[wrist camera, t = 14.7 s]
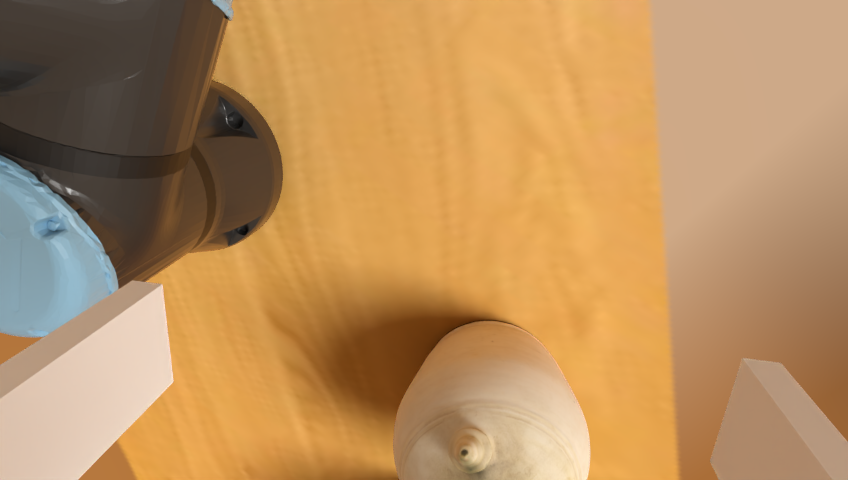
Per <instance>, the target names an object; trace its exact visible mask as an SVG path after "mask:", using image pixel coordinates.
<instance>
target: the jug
mask: <svg viewBox="0 0 848 480" xmlns="http://www.w3.org/2000/svg"><path fill="white" fill-rule="evenodd" d="M393 450H394V459H395V465H396V470H397V474H398V477H399V480H587V477H588V472H589V465H590V440H589V433H588V428H587V424H586V421H585V417H584V415H583V412H582V410H581V407H580V405H579V403H578V401H577V399H576V397H575V395H574V393H573V391H572V389H571V387H570V385H569V384H568V382H567V380H566V378H565V376H564V375H563V373H562V371H561V369H560V367H559V366H558V364H557V362H556V361H555V359H554V358H553V356H552V355H551V354H550V353H549V351H548V350H547V349H546V348H545V346H544V345H543V344H542V343H541V342H540V341H539V340H538V339H537V338H535V337H534V336H533V335H531V334H530V333H528V332H526V331H525V330H523V329H521V328H519V327H517V326H514V325H511V324H508V323H504V322H499V321H478V322H472V323H469V324H466V325H463V326H460V327H458V328H456V329H454V330H453V331H451V332H449V333H448V334H447V335H445V336H444V337H443V338H442V339H441V340H440V341H439V342H438V343H437V345H436V346H435V348H434V349H433V350H432V351H431V352H430V354H429V355H428V356H427V358H426V359H425V361H424V363H423V364H422V366H421V368H420V369H419V371H418V372H417V374H416V376H415V377H414V379H413V381H412V382H411V384H410V386H409V387H408V389H407V391H406V393H405V394H404V396H403V399H402V401H401V403H400V406H399V408H398V411H397V416H396V421H395V427H394V439H393Z"/></svg>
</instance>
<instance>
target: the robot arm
mask: <svg viewBox="0 0 848 480" xmlns="http://www.w3.org/2000/svg"><path fill="white" fill-rule="evenodd" d="M232 1H233V0H0V332H1V333H5V334H9V335H14V336H20V337H43V338H42V339H40V340H39V341H37V342H36V343H34V344H32V345H31V346H29V347H28V348H26V349H25V350H23V351H21V352H20V353H18V354H17V355H15V356H14V357H12V358H10V359H9V360H7V361H6V362H5V363H3V364H1V365H0V480H78V479H79V478H80V477H81V476H82V475H83V474H84V473H85V472H86V471H87V470H88V469H89V468H90V467H91V465H92V464H94V463H95V462H96V461H97V460H98V458H99V457H100V456H101V455H102V454H103V453H104V452H105V451H106V450H107V449H108V448H109V447H110V446H111V445H112V444H113V443H114V442H115V441H116V440H117V439H118V438H119V437H120V436H121V435H122V434H123V433H124V432H125V431H126V430H127V429H128V428H129V427H130V426H131V425H132V424H133V423H134V422H135V421H136V420H137V419H138V418H139V417H140V416H141V415H142V414H143V413H144V412H145V410H146V409H147V408H148V407H149V406H150V405H151V404H152V403H153V402H154V401H155V400H156V399H157V398H158V397H159V396H160V395H161V394H162V393H163V392H164V391H165V390H166V389H167V388H168V387H169V386H170V385H171V384H172V383H173V373H172V364H171V355H170V347H169V338H168V329H167V320H166V311H165V303H164V294H163V285H162V284H157V283H149V282H146V281H147V280H149V279H150V278H152V277H153V276H155V275H156V274H158V273H159V272H161V271H162V270H164V269H165V268H167V267H168V266H170V265H171V264H173V263H174V262H175V261H177V260H178V259H180V258H181V257H183V256H184V255H186V254H187V253H194V252H204V251H213V250H220V249H224V248H227V247H230V246H233V245H235V244H237V243H239V242H241V241H243V240H244V239H246V238H247V237H249V236H250V235H251V234H253V233H254V232H255V231H257V230H258V229H259V228H260V227H261V226H263V225H264V223H265V222H266V221H267V220H268V219H269V217H270V216H271V214H272V213H273V211H274V209H275V207H276V205H277V203H278V200H279V197H280V193H281V188H282V180H283V170H282V161H281V156H280V152H279V148H278V145H277V142H276V140H275V137H274V135H273V133H272V131H271V129H270V127H269V126H268V124H267V122H266V121H265V119H264V118H263V117H262V115H261V114H260V113H259V112H258V110H257V109H256V108H255V107H254V106H253V105H252V104H251V103H250V102H249V101H248V100H246V99H245V98H244V97H243V96H241V95H240V94H239V93H237V92H236V91H234V90H232V89H231V88H229V87H227V86H225V85H223V84H221V83H218V82H215V81H212V77H213V74H214V70H215V66H216V63H217V59H218V56H219V52H220V48H221V45H222V41H223V38H224V34H225V30H226V27H227V23H228V20H230V21H232V18H233V10H232V8H231V6H232ZM710 462H711V464H712V467H713V469H714V471H715V473H716V475H717V477H718V479H719V480H848V442H847V441H846V440H845V439H844V437H843V436H842V435H841V434H840V433H839V431H838V430H837V429H836V428H835V427H834V426H833V424H832V423H831V422H830V421H829V419H828V418H827V417H826V416H825V415H824V413H823V412H822V411H821V410H820V409H819V408H818V406H817V405H816V404H815V403H814V402H813V401H812V399H811V398H810V397H809V396H808V395H807V393H806V392H805V391H804V390H803V389H802V388H801V386H800V385H799V384H798V383H797V382H796V381H795V379H794V378H793V377H792V376H791V375H790V373H789V372H788V371H787V370H786V369H785V367H784V366H783V365H782V364H781V363H777V362H770V361H762V360H754V359H746V358H742V361H741V364H740V367H739V370H738V373H737V376H736V380H735V383H734V386H733V389H732V393H731V396H730V399H729V402H728V405H727V408H726V412H725V415H724V418H723V421H722V425H721V428H720V431H719V434H718V437H717V440H716V444H715V447H714V450H713V453H712V456H711V460H710Z"/></svg>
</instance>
